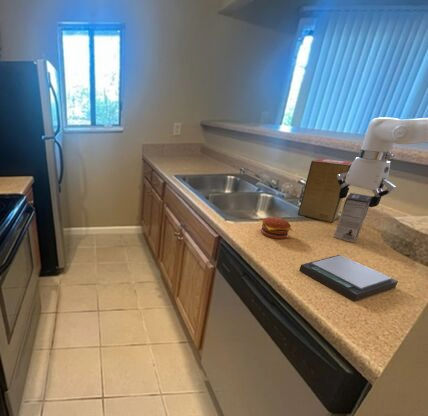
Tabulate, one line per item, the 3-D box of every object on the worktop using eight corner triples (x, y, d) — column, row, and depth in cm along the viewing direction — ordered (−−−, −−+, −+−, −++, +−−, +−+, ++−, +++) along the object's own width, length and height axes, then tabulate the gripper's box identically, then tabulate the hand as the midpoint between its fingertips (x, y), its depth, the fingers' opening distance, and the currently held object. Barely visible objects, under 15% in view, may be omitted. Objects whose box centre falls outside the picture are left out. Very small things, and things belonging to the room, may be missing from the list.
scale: (395, 287, 76) (399, 279, 75) (354, 301, 71) (357, 292, 70) (337, 260, 89) (339, 253, 88) (299, 270, 84) (301, 262, 83)
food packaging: (337, 217, 122) (355, 161, 113) (333, 223, 116) (351, 165, 108) (302, 209, 132) (316, 157, 123) (296, 214, 126) (310, 160, 117)
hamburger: (293, 239, 103) (297, 223, 101) (266, 239, 104) (270, 223, 102) (280, 228, 112) (283, 214, 110) (255, 228, 113) (258, 213, 110)
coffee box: (337, 230, 110) (350, 192, 104) (358, 235, 106) (373, 196, 100) (333, 237, 104) (346, 197, 99) (355, 243, 100) (369, 201, 94)
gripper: (413, 159, 88) (392, 209, 94) (352, 150, 103) (338, 193, 109) (398, 161, 85) (378, 211, 92) (338, 152, 101) (325, 196, 107)
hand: (356, 202), depth 100 cm, fingers open, 9 cm apart
